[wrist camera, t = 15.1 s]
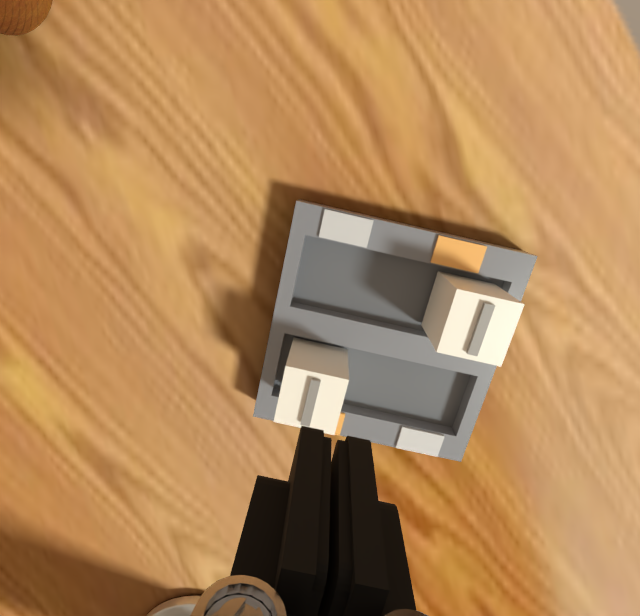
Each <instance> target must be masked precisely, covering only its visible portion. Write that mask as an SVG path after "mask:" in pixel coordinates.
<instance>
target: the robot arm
mask: <svg viewBox="0 0 640 616" xmlns="http://www.w3.org/2000/svg"><path fill="white" fill-rule="evenodd" d="M147 616H427V615H425V614H423V613H421V612H419V611H416V606H415V601H414V595H413V590H412V584H411V579H410V574H409V568H408V563H407V557H406V552H405V546H404V541H403V535H402V530H401V525H400V519H399V514H398V510H397V507H396V505H395V504H390V503H386V502H381V501H378V495H377V487H376V479H375V471H374V463H373V456H372V448H371V442H370V440H366V439H362V438H357V437H352V436H347V437H346V440H345V441H342V440H337V443H336V446H335V450H334V454H333V458H332V461H331V438H328V437H324V430H320V429H315V428H311V427H306V426H301V429H300V434H299V438H298V442H297V446H296V450H295V455H294V459H293V463H292V467H291V472H290V476H289V480H288V482H287V481H283V480H278V479H273V478H268V477H264V476H259V475H258V476H257V479H256V483H255V487H254V490H253V494H252V498H251V501H250V505H249V509H248V512H247V516H246V520H245V523H244V527H243V531H242V534H241V538H240V542H239V545H238V549H237V553H236V556H235V560H234V564H233V567H232V571H231V575H230V576H228V577H226V578H223V579H221V580H218V581H216V582H215V583H214V584H212V585H211V586H210V587H208V588H207V589H206V590H205V591H204V593H203V594H202V596H184V597H179V598H174V599H171V600H168V601H166V602H164V603H161V604H160V605H158V606H157V607H155V608H154V609H153V610H152V611H151V612H150V613H149V614H148V615H147Z"/></svg>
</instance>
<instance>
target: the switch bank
mask: <svg viewBox="0 0 640 616" xmlns="http://www.w3.org/2000/svg"><path fill="white" fill-rule="evenodd" d="M536 259H537V256H535V255H533V254H530V253H528V252H525V251H522V250H517V249H513V248H509V247H504V246H500V245H496V244H491V243H487V242H483V241H478V240H474V239H470V238H465V237H461V236H457V235H452V234H448V233H444V232H439V231H435V230H431V229H426V228H422V227H418V226H413V225H409V224H405V223H400V222H396V221H392V220H387V219H383V218H379V217H374V216H370V215H366V214H361V213H357V212H353V211H348V210H344V209H340V208H335V207H331V206H327V205H322V204H318V203H314V202H309V201H305V200H301V199H299V200H297V201H296V205H295V210H294V215H293V220H292V225H291V230H290V235H289V240H288V245H287V250H286V255H285V260H284V265H283V270H282V275H281V280H280V284H279V289H278V294H277V299H276V304H275V309H274V314H273V319H272V324H271V329H270V334H269V339H268V344H267V349H266V354H265V359H264V364H263V369H262V374H261V379H260V384H259V389H258V394H257V399H256V404H255V409H254V414H253V416H254V417H258V418H263V419H268V420H272V421H274V417H275V412H276V408H277V403H278V398H279V394H280V389H281V385H282V380H283V375H284V371H285V366H286V363H287V359H288V356H289V352H290V348H291V345H292V341H293V338H294V337H295V338H299V339H304V340H308V341H312V342H317V343H321V344H326V345H330V346H335V347H339V348H344V349H348V368H349V382H348V386H347V390H346V394H345V397H344V401H343V405H342V409H341V412H340V416H339V420H338V424H337V427H336V431H335V435H339V436H340V435H341V436H345V437H347V436H352V437H357V438H362V439H366V440H370V442H373V443H378V444H382V445H387V446H391V447H396V448H399V449H404V450H408V451H413V452H417V453H422V454H426V455H431V456H436V457H442V458H446V459H451V460H455V461H460V462H461V460H462V458H463V455H464V452H465V449H466V447H467V444H468V441H469V439H470V436H471V433H472V431H473V428H474V425H475V423H476V420H477V417H478V415H479V412H480V409H481V407H482V404H483V401H484V399H485V396H486V393H487V390H488V388H489V385H490V382H491V380H492V377H493V374H494V372H495V369H496V365H491V364H487V363H483V362H478V361H474V360H469V359H465V358H460V357H456V356H451V355H447V354H442V353H438V352H436V350H435V349H434V347H433V345H432V343H431V342H430V340H429V338H428V336H427V334H426V333H425V331H424V329H423V327H422V326H421V324H422V321H423V318H424V315H425V311H426V308H427V305H428V302H429V298H430V295H431V292H432V289H433V285H434V282H435V279H436V276H437V272H438V271H440V272H444V273H449V274H453V275H458V276H462V277H466V278H471V279H475V280H479V281H484V282H488V283H493V284H495V285H497V286H498V287H500V288H501V289H503V290H504V291H506V292H507V293H509V294H510V295H512V296H513V297H515V298H516V299H518V300H519V301H520V302H521V299H522V297H523V294H524V291H525V288H526V286H527V283H528V280H529V278H530V275H531V272H532V270H533V267H534V264H535V262H536Z"/></svg>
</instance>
